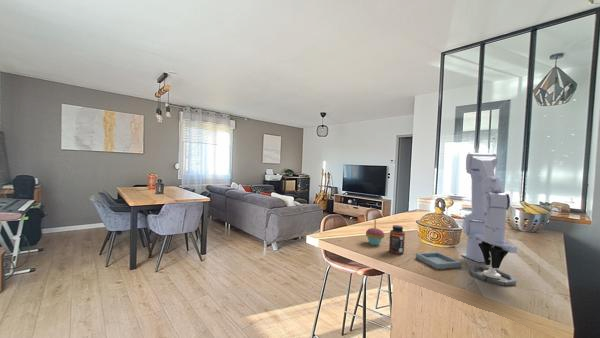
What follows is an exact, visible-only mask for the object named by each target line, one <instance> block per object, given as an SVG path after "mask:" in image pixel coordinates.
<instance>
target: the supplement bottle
mask: <svg viewBox="0 0 600 338" xmlns="http://www.w3.org/2000/svg"><path fill="white" fill-rule="evenodd" d="M405 235H406V233H405V231H404V228H403V226H402V225H398V224H393V225H392V229H391V230H390V231H389V245H388V247H389V248H388V249H389V252H390V253H392V254H395V255H403V254H404V252H405V240H406V239H405V237H406V236H405Z"/></svg>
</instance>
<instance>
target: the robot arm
mask: <svg viewBox="0 0 600 338" xmlns="http://www.w3.org/2000/svg"><path fill="white" fill-rule="evenodd" d="M465 158H466V159H465V170H466V173H467V174H469V175H470V179H471V212H470V213H469V214H467V215H465V216H464V218H463V224H462V231H463V234H464V235H466V249H465V250H466V253H460V256H463V257H465V258H467V259H470V260H472V261H474V262H477V263H484V264H485V265H486V266H490V261H491V260H489V258H490V254H489V251H490V253H491V258H492V262H491V263H492V268H495V269H500V267H501V264H502V262H503V260H504V258H505V257H506V256H507V254H508V253H511V254H517V251H518V246H515V245H513V244H511V243H508V242H507V240H505V239H506V237H505V236H506V221H507V220H506V219H507V211H509V208H510V205H511V197H510V194H509V193H508V192H507V191H505V190H504V189H503V186H502V182H501V180H500V179H499V178H498V177H496V175H495V169H496V167H497V165H498V160H499V159H498V158H499V157H498V155H497V154H496V153H495V152H491V153H489V152H467V154H466V157H465ZM492 246H493V247H492Z"/></svg>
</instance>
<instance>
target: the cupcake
mask: <svg viewBox="0 0 600 338" xmlns="http://www.w3.org/2000/svg"><path fill="white" fill-rule="evenodd" d="M365 236H366V238H367V239H368V244H370V245H373V246H379V245H380V244H381V242H382V239H384V237H385V233H384V231H383V230H381V229H378V228H377V219H376V218H374V228H371V227H370V228H368V229H367V230H366V231H365Z"/></svg>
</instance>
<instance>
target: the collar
mask: <svg viewBox="0 0 600 338" xmlns="http://www.w3.org/2000/svg"><path fill="white" fill-rule="evenodd" d="M488 269H489V267H487V266H484V265H483V266H482V265H481V266H480V265H476V266H470V267H469V272H471V273H470V275H471V277H475V278H477V279H478V280H481V281H483V282H484V283H485V282H486V283H489V284H493V285H498V286H503V287H508V286H516V285H517V280H516V279H515V277H514V276H513V275H512V274H511V273H507V272H505V271H504V270H503V271H502V270H500V269H499V268H495V271H496V272H497V273H499V274H500V275H501V277H504V278H506V280H501V279H497V278H491V277H488V276H485V275H482V274H480V273H478V272H479V271H485V270H488Z"/></svg>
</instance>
